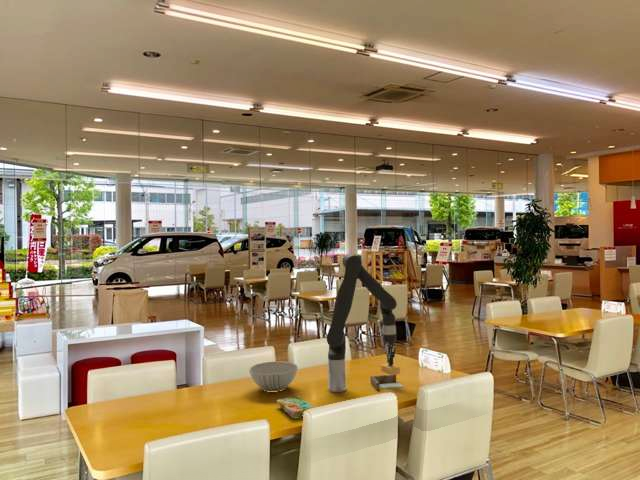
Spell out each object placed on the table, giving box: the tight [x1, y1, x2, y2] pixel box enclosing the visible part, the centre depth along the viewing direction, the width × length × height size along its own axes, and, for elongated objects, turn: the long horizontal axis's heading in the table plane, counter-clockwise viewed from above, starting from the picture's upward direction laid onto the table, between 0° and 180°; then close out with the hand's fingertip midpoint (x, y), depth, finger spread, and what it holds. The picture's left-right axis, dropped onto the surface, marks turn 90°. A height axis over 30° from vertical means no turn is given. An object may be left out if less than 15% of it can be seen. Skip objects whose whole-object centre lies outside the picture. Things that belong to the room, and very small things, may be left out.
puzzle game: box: [276, 395, 315, 419], centre depth 244 cm, size 12×5×20 cm
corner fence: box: [370, 374, 397, 391], centre depth 280 cm, size 15×14×4 cm
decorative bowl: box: [249, 360, 299, 392], centre depth 279 cm, size 27×27×12 cm
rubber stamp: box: [380, 352, 401, 376], centre depth 279 cm, size 10×6×12 cm, turn 28°
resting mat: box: [379, 382, 404, 390], centre depth 280 cm, size 12×8×1 cm, turn 98°
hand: (390, 363), depth 279 cm, fingers closed on rubber stamp, 3 cm apart
